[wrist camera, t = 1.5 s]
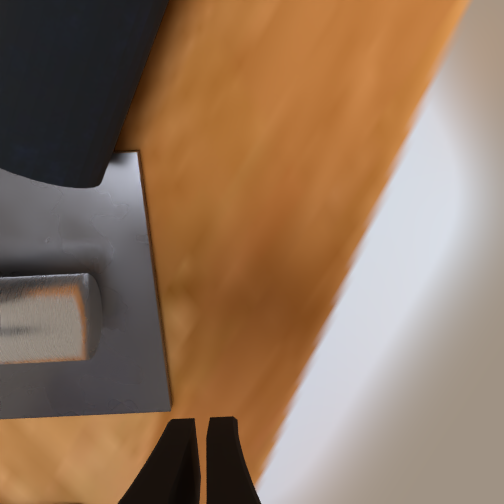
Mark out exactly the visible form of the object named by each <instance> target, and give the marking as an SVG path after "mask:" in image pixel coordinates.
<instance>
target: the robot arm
mask: <svg viewBox="0 0 504 504" xmlns="http://www.w3.org/2000/svg"><path fill="white" fill-rule="evenodd" d="M206 461H207V503H206V504H261V502H260V500H259V497H258V495H257V493H256V490H255V488H254V485H253V483H252V480H251V477H250V474H249V471H248V469H247V466H246V463H245V460H244V456H243V453H242V449H241V445H240V441H239V435H238V422H237V419H236V418H234V417H233V416H232V417H210V421H209V426H208V431H207V437H206ZM200 483H201V473H200V464H199V455H198V446H197V437H196V428H195V418H189V419H172V420H171V421H170V422H169V423H168V424H167V426H166V428H165V430H164V432H163V434H162V436H161V437H160V439H159V441H158V443H157V445H156V446H155V448H154V450H153V451H152V453H151V455H150V456H149V458H148V460H147V461H146V463H145V464H144V466H143V468H142V469H141V471H140V472H139V474H138V475H137V477H136V478H135V480H134V482H133V483H132V485H131V486H130V487H129V489H128V490H127V492H126V493H125V494H124V496H123V497H122V499H121V500H120V501H119V503H118V504H199V500H200Z"/></svg>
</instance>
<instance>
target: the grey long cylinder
mask: <svg viewBox="0 0 504 504" xmlns="http://www.w3.org/2000/svg"><path fill="white" fill-rule="evenodd" d="M101 331H102V302H101V296H100V291H99V288H98V285H97V282H96V280H95V279H94V277H93V276H92V275H91V274H88V273H85V274H64V275H43V276H22V277H1V278H0V364H20V363H40V362H61V361H81V360H90V359H91V358H92V357H93V356H94V355H95V353H96V351H97V349H98V346H99V342H100V338H101Z"/></svg>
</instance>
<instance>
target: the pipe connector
mask: <svg viewBox="0 0 504 504" xmlns="http://www.w3.org/2000/svg"><path fill="white" fill-rule="evenodd" d="M168 2H169V0H0V168H1V169H3V170H6V171H8V172H11V173H13V174H16V175H19V176H23V177H26V178H29V179H32V180H36V181H39V182H43V183H47V184H52V185H57V186H62V187H69V188H85V189H86V188H94V187H97V186H99V185H100V184H101V183H102V180H103V177H104V175H105V172H106V169H107V167H108V164H109V161H110V159H111V156H112V153H113V150H114V148H115V145H116V142H117V140H118V137H119V134H120V131H121V129H122V126H123V123H124V121H125V118H126V115H127V113H128V110H129V107H130V104H131V102H132V99H133V96H134V94H135V91H136V88H137V85H138V83H139V80H140V77H141V75H142V72H143V69H144V67H145V64H146V61H147V58H148V56H149V53H150V50H151V48H152V45H153V42H154V39H155V37H156V34H157V31H158V29H159V26H160V23H161V21H162V18H163V15H164V12H165V10H166V7H167V4H168Z"/></svg>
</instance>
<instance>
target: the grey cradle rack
mask: <svg viewBox="0 0 504 504" xmlns="http://www.w3.org/2000/svg"><path fill="white" fill-rule="evenodd" d="M85 273H88V274H91V275H92V276H93V277H94V279H95V280H96V282H97V285H98V288H99V291H100V296H101V302H102V331H101V338H100V342H99V346H98V349H97V351H96V353H95V355H94V356H93V357H92V358H91V359H90V360H81V361H61V362H40V363H20V364H0V419H16V418H38V417H59V416H81V415H103V414H124V413H146V412H167V411H171V408H172V399H171V391H170V383H169V375H168V368H167V360H166V352H165V344H164V337H163V329H162V321H161V313H160V306H159V298H158V290H157V282H156V275H155V267H154V259H153V251H152V244H151V236H150V228H149V220H148V213H147V205H146V197H145V189H144V182H143V174H142V166H141V158H140V151H139V150H136V151H114V152H113V153H112V156H111V159H110V161H109V164H108V167H107V169H106V172H105V175H104V177H103V180H102V183H101V184H100V185H99V186H97V187H94V188H86V189H85V188H69V187H62V186H57V185H52V184H47V183H43V182H39V181H36V180H32V179H29V178H26V177H23V176H19V175H16V174H13V173H11V172H8V171H6V170H3V169H1V168H0V278H1V277H22V276H43V275H64V274H85Z"/></svg>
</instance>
